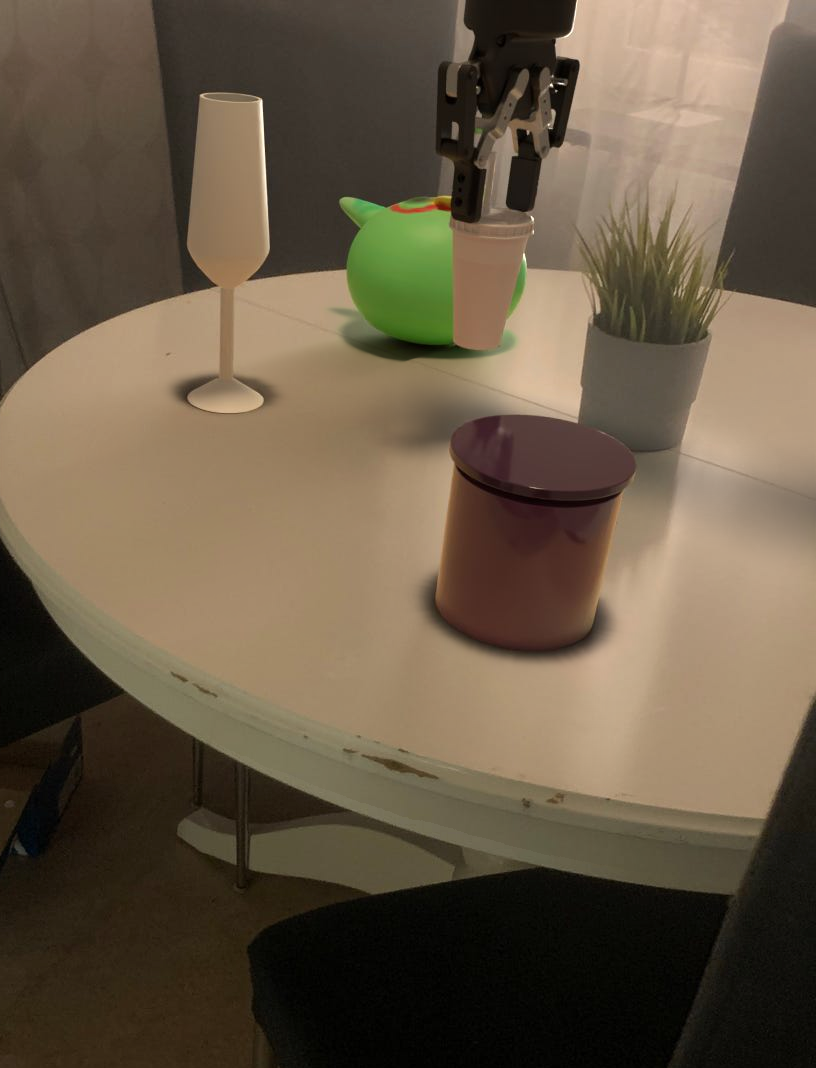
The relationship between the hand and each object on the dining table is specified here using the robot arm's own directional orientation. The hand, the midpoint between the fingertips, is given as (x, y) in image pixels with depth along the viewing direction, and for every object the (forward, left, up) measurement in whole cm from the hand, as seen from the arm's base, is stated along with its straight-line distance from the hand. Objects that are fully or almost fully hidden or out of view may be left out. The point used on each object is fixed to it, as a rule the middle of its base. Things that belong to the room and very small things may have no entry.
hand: (493, 214), depth 83 cm
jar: (+19, +19, -18) cm, 33 cm away
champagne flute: (+9, -19, -19) cm, 28 cm away
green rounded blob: (-19, -19, -19) cm, 33 cm away
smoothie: (0, 0, -10) cm, 10 cm away
